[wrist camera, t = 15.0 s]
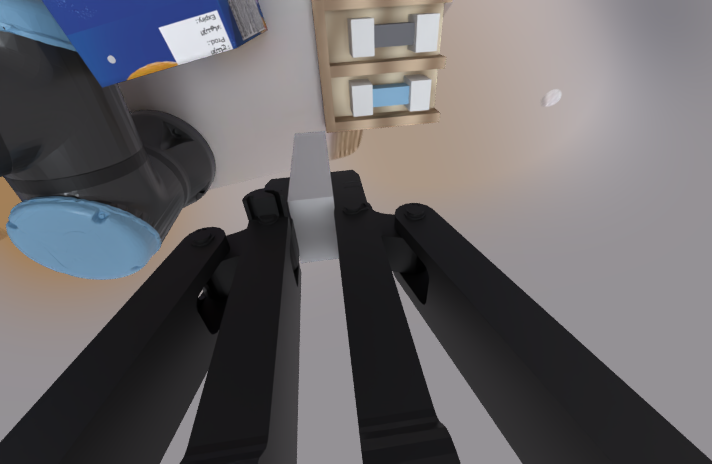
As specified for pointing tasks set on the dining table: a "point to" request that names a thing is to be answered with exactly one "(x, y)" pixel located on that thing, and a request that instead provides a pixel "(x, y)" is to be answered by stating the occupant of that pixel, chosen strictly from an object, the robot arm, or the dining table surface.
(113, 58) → the beverage box
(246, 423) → the robot arm
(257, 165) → the dining table surface
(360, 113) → the blocky blue dumbbell
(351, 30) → the blocky gray dumbbell
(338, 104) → the wooden compartment tray
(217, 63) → the dining table surface
